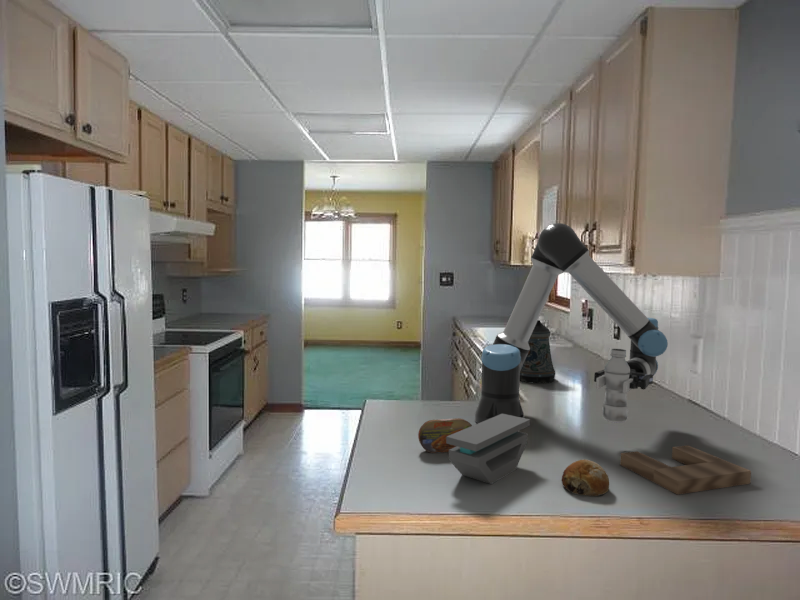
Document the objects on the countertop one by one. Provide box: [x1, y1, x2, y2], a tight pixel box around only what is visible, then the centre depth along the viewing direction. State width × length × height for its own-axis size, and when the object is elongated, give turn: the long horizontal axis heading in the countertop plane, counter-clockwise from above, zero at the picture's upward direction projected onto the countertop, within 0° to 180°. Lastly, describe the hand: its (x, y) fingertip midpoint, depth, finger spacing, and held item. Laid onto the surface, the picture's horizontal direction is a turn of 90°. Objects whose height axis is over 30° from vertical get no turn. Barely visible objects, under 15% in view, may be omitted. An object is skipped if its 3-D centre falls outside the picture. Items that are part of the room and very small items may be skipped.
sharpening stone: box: [446, 414, 531, 485], centre depth 131 cm, size 25×8×11 cm, turn 140°
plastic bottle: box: [601, 348, 630, 424], centre depth 151 cm, size 6×7×20 cm
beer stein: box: [520, 319, 556, 384], centre depth 234 cm, size 16×19×25 cm
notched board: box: [619, 444, 752, 495], centre depth 132 cm, size 21×18×3 cm
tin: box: [417, 418, 473, 454], centre depth 146 cm, size 15×3×8 cm, turn 101°
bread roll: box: [561, 458, 610, 497], centre depth 123 cm, size 10×10×8 cm
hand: (611, 385), depth 147 cm, fingers closed on plastic bottle, 6 cm apart
